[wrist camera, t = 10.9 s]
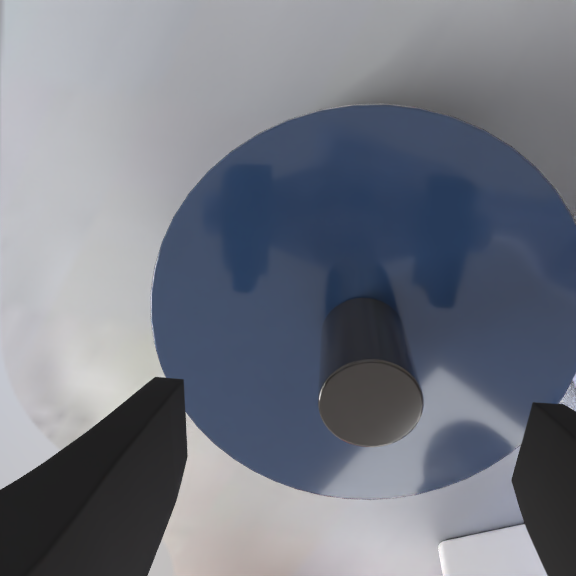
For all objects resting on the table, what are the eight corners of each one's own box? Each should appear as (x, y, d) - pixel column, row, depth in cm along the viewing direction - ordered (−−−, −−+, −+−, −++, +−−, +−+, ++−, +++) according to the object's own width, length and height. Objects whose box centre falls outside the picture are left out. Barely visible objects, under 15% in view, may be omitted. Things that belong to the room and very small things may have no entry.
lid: (625, 402, 16) (729, 517, 12) (277, 517, 19) (262, 642, 15) (489, 5, 12) (571, -32, 8) (82, 229, 15) (-13, 287, 11)
